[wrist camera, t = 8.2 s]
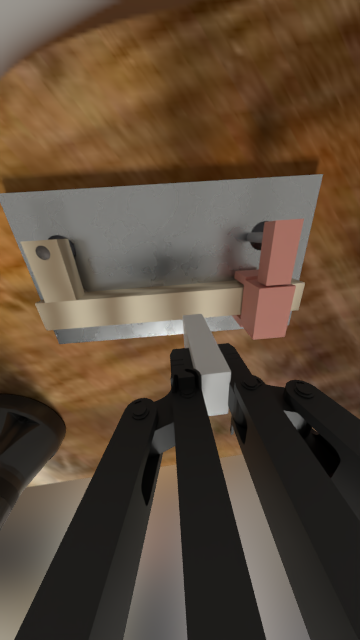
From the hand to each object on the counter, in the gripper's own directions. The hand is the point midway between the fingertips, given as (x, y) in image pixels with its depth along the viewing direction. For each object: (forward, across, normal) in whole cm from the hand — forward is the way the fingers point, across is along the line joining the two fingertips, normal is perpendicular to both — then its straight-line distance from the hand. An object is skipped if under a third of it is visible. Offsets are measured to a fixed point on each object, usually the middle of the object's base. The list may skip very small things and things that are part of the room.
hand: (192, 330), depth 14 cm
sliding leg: (+7, +7, +2) cm, 11 cm away
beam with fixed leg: (+8, -1, +3) cm, 9 cm away
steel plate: (+9, -1, +3) cm, 10 cm away
